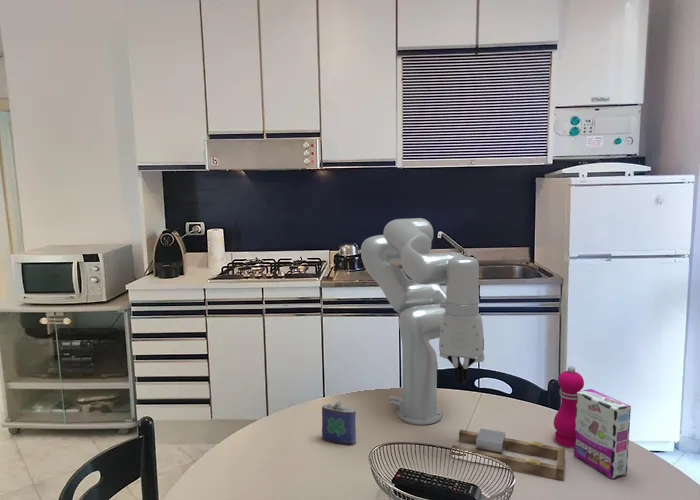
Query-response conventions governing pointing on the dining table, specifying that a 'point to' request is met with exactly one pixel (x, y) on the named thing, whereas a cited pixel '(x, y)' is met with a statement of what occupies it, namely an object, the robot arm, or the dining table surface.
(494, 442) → the block
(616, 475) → the candy bar box
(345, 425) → the flask
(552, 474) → the track
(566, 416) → the pepper mill
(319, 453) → the dining table surface
